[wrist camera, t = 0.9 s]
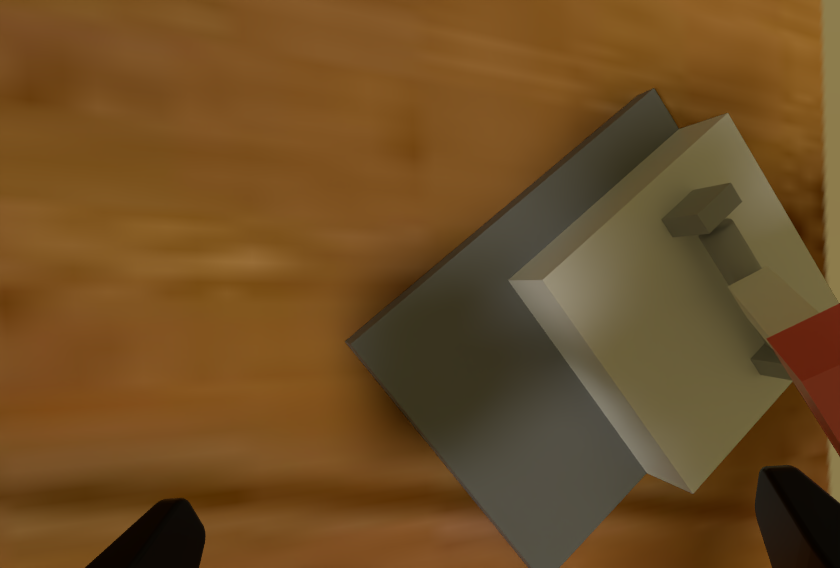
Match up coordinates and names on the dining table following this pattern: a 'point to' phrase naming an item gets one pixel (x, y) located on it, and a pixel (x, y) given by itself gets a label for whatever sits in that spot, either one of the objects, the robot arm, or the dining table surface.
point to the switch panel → (594, 330)
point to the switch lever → (785, 324)
